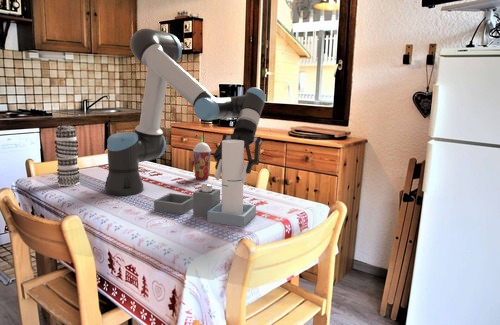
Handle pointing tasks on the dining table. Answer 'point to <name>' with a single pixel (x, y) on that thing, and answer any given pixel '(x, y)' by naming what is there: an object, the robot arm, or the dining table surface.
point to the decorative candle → (67, 156)
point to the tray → (231, 215)
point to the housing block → (205, 201)
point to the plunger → (207, 188)
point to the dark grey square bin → (174, 203)
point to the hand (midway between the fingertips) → (229, 179)
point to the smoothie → (202, 160)
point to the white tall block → (232, 176)
